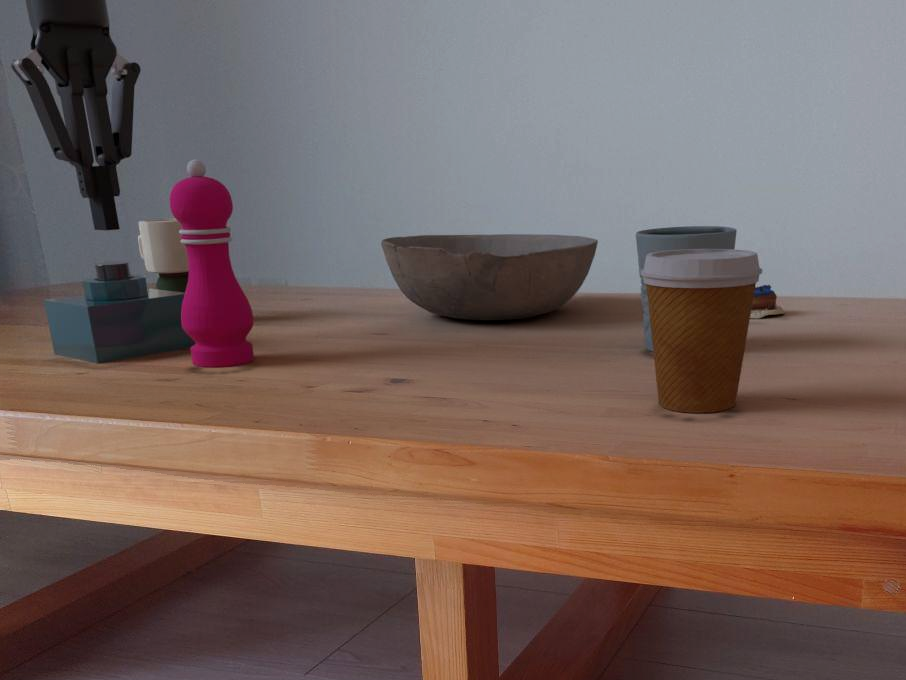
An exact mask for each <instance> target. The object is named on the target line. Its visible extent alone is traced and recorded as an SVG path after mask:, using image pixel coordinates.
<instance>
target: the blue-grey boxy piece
mask: <svg viewBox="0 0 906 680" xmlns="http://www.w3.org/2000/svg"><path fill="white" fill-rule="evenodd" d="M131 277H132V278H130V279H122V280H109V281H97V277H96V276H94V277H89V278H88V277H87V278H84V279H82V281H81V282H82V287H83V293H84V294H82V295H75V296H66V297H65V296H64V297H58V298H50V299H43V303H44V308H45V313H46V319H47V324H48V328H49V333H50V338H51V344H52V348H53V353H54V355H57V356H60V357H61V356H62V357H66V358H70V359H75V360H80V361H84V362H89V363H93V364H98V365H99V364H104V363H110V362H115V361H122V360H128V359H133V358H139V357H144V356H149V355H156V354H161V353H167V352H173V351H179V350H184V349H190V348H191V347H192V346H194V345H195V344H196V343H195V341H194V340H193V339H192V338H191V337H190V336H189V335H188V334H187V333H186V332H185V331H184V330H183V328H182V323H181V310H182V303H183V299H184V295H185V293H183V292H175V291H166V290H158V289H156V288H149V287H148V282H147V276H146V275H145V274H143V275H142V274H131Z"/></svg>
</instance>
